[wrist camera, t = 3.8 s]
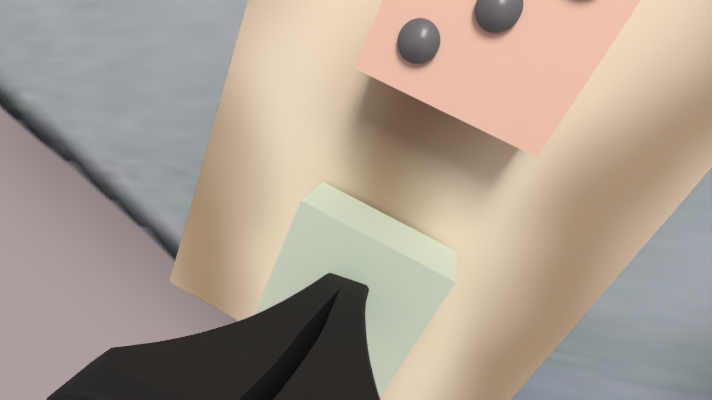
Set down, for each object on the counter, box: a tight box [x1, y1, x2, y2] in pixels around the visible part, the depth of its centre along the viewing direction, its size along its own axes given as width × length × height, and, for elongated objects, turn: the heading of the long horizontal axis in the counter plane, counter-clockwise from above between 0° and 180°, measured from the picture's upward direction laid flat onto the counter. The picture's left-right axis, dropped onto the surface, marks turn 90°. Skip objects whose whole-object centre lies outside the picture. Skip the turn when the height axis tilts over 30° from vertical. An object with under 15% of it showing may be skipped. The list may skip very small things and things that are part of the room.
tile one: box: [254, 182, 457, 395], centre depth 13 cm, size 5×5×2 cm
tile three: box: [355, 0, 641, 158], centre depth 10 cm, size 5×5×2 cm
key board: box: [170, 0, 712, 400], centre depth 12 cm, size 14×28×2 cm, turn 156°
